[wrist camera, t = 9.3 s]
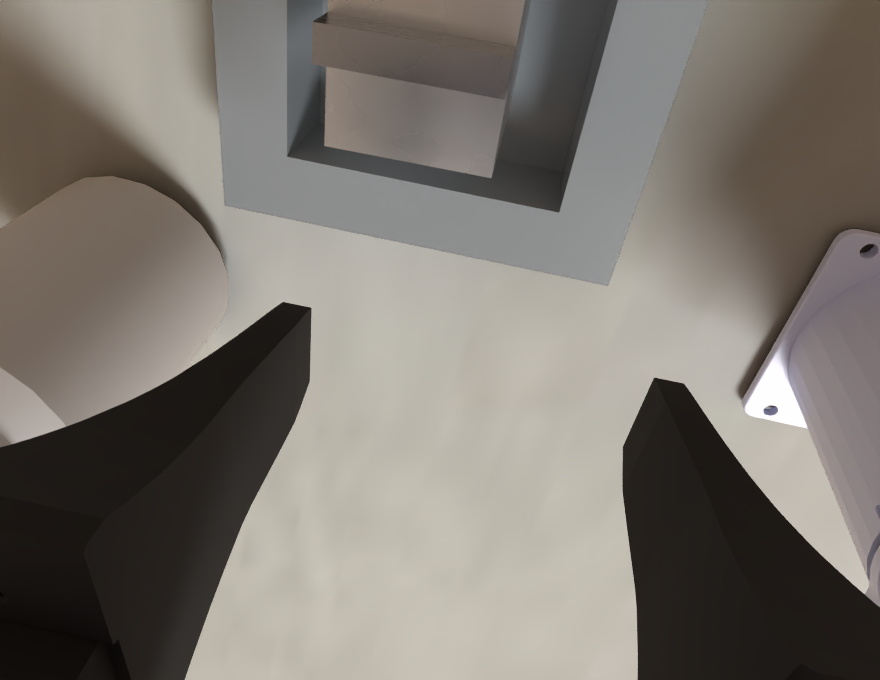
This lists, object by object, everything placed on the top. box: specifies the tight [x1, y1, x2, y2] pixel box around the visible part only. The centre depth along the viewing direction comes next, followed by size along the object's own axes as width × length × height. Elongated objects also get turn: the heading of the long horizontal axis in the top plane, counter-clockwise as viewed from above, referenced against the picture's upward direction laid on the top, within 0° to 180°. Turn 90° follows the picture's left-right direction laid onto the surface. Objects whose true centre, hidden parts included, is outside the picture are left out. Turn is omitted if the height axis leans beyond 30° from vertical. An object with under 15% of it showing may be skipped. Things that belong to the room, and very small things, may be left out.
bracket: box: [312, 0, 531, 178], centre depth 16 cm, size 4×5×7 cm
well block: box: [212, 0, 709, 286], centre depth 18 cm, size 12×12×4 cm
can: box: [0, 176, 229, 447], centre depth 22 cm, size 8×8×12 cm
